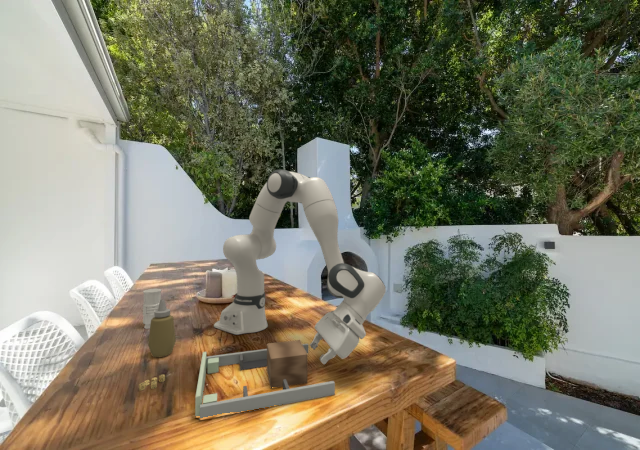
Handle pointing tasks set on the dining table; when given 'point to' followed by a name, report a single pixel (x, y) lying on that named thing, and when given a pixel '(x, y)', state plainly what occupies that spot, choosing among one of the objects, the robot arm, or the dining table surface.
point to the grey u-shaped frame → (266, 399)
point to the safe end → (212, 368)
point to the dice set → (153, 383)
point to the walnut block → (286, 363)
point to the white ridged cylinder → (150, 305)
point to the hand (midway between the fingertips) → (316, 354)
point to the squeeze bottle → (161, 332)
